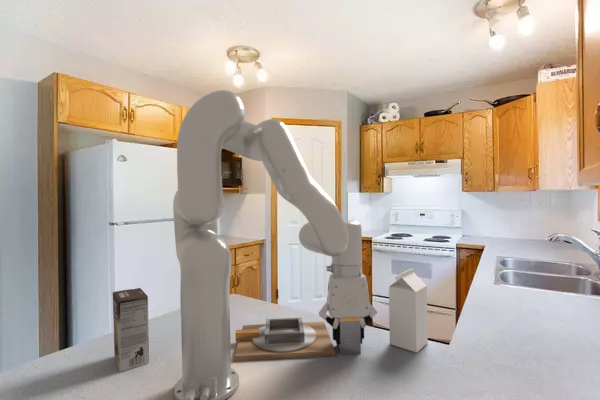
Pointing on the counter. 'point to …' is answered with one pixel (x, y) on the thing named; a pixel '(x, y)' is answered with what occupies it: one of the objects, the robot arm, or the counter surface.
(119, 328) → the coffee box
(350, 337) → the grey orange block
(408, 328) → the milk carton
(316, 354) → the rosette board
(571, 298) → the counter surface
